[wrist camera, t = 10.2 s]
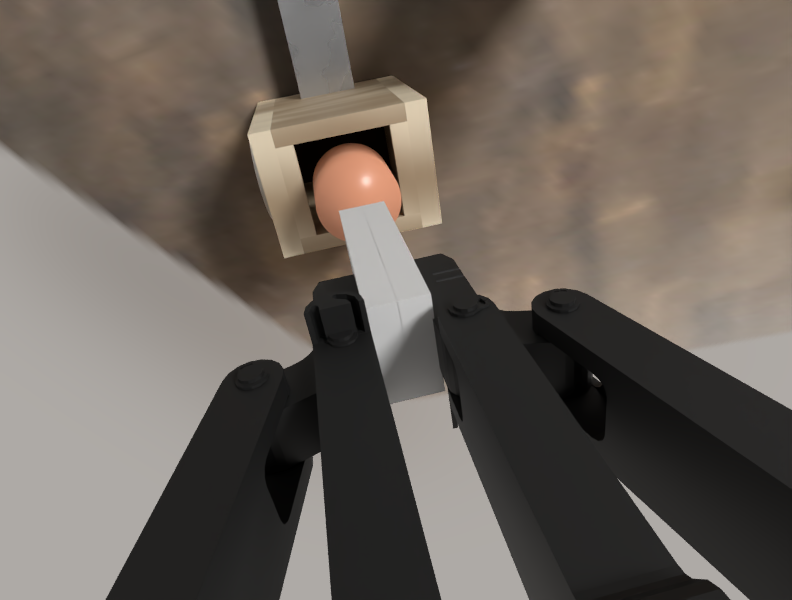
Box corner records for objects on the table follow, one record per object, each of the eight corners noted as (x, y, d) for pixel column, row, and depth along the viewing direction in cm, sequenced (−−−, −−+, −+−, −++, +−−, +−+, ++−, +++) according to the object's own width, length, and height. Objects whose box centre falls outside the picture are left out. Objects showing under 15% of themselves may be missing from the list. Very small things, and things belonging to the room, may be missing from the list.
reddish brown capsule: (304, 151, 24) (305, 169, 21) (382, 135, 24) (394, 151, 21) (322, 225, 25) (326, 250, 23) (395, 210, 26) (407, 232, 23)
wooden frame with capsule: (251, 103, 30) (237, 136, 23) (392, 75, 31) (426, 98, 23) (279, 201, 34) (276, 259, 26) (407, 173, 34) (441, 223, 26)
